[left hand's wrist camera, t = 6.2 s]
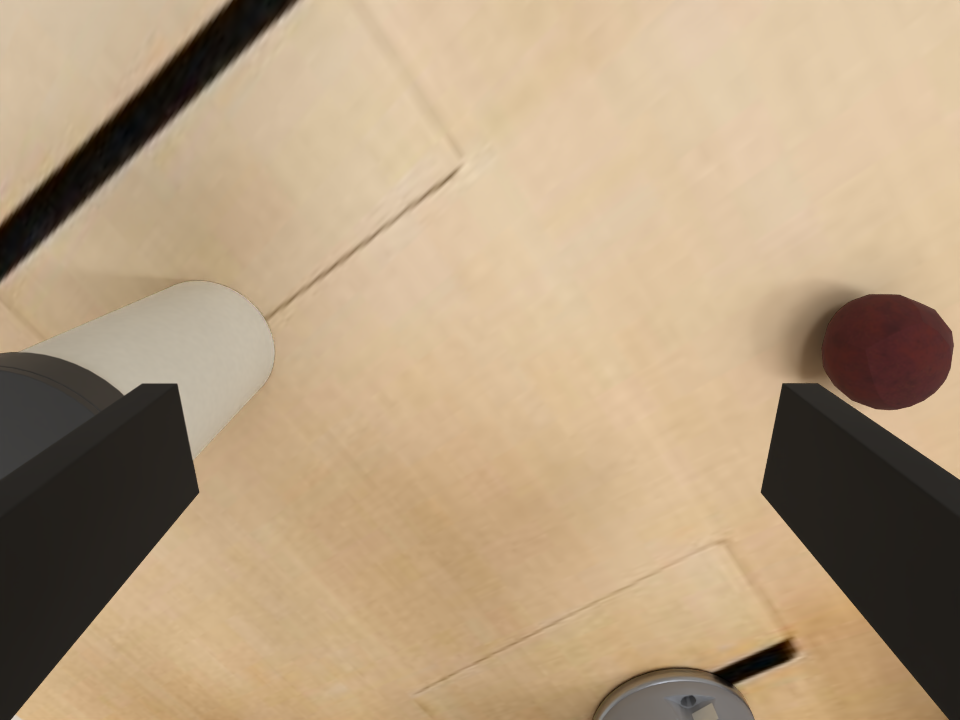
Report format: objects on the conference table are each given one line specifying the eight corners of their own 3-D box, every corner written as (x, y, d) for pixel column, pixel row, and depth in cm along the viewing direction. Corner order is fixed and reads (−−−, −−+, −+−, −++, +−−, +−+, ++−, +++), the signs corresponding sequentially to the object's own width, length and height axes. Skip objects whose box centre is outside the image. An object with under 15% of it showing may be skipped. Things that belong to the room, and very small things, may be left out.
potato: (824, 400, 43) (887, 446, 36) (782, 318, 40) (842, 350, 34) (919, 349, 41) (1003, 387, 35) (882, 261, 39) (964, 283, 32)
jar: (161, 407, 43) (-43, 569, 26) (126, 284, 40) (-131, 379, 23) (285, 401, 43) (160, 560, 26) (261, 276, 40) (100, 367, 23)
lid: (-19, 553, 28) (-56, 583, 26) (-105, 357, 24) (-156, 375, 22) (187, 543, 28) (165, 572, 26) (130, 345, 24) (99, 362, 22)
